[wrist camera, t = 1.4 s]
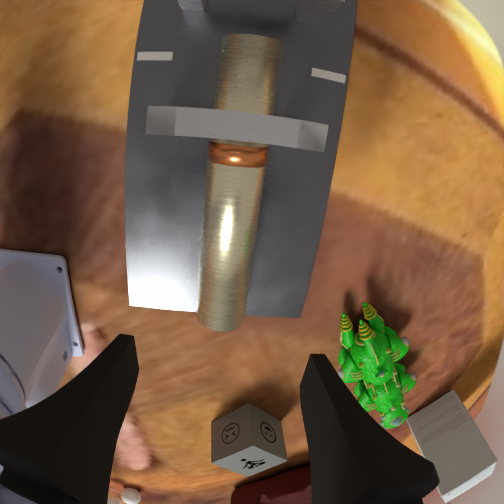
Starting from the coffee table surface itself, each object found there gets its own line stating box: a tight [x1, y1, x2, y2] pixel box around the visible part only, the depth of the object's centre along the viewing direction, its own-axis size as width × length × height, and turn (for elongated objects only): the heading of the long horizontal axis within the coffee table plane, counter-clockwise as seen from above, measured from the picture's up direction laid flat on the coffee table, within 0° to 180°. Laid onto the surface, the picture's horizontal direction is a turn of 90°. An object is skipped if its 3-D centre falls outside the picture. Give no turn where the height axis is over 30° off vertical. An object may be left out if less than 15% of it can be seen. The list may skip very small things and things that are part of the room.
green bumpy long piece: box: [338, 302, 416, 429], centre depth 25 cm, size 7×18×4 cm, turn 28°
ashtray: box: [231, 466, 312, 504], centre depth 36 cm, size 18×16×5 cm
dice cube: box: [211, 403, 288, 477], centre depth 27 cm, size 5×5×5 cm
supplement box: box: [407, 389, 497, 503], centre depth 28 cm, size 7×7×13 cm
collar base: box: [125, 0, 357, 318], centre depth 15 cm, size 22×12×6 cm, turn 173°
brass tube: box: [197, 34, 283, 331], centre depth 17 cm, size 16×3×3 cm, turn 173°
